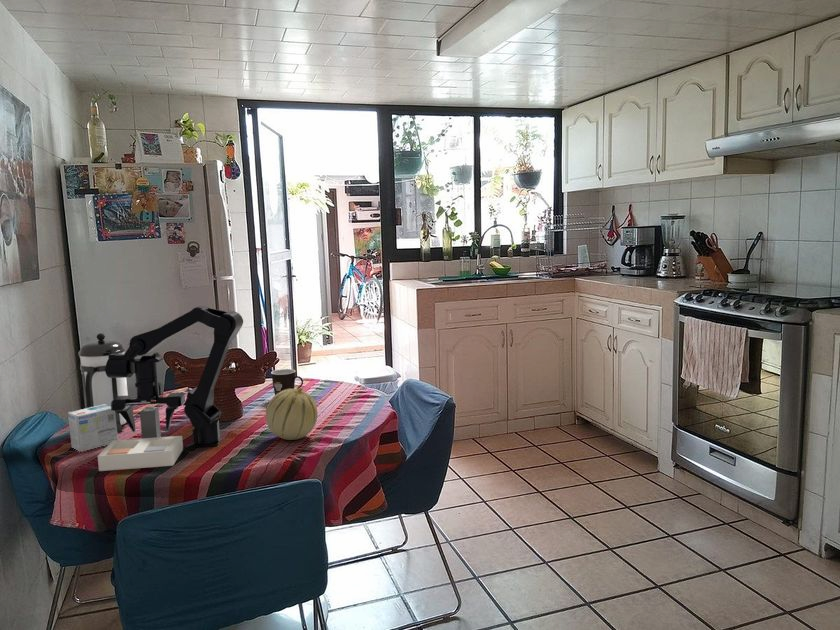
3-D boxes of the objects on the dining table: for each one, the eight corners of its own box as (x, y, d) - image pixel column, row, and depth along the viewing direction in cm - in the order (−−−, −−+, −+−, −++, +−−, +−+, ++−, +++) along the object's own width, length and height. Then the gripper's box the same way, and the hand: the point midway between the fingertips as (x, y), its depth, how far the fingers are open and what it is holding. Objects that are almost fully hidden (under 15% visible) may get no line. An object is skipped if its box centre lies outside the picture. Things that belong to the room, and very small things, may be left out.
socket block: (183, 449, 171) (182, 434, 170) (173, 465, 159) (171, 449, 158) (114, 454, 168) (113, 439, 167) (98, 471, 156) (97, 454, 156)
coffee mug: (268, 399, 221) (266, 371, 220) (288, 394, 227) (287, 368, 226) (284, 405, 213) (283, 377, 211) (305, 400, 218) (304, 373, 217)
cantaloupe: (264, 434, 183) (261, 385, 181) (313, 427, 188) (311, 379, 186) (270, 450, 169) (268, 397, 167) (323, 442, 174) (321, 391, 172)
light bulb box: (108, 438, 182) (105, 403, 180) (119, 442, 177) (116, 406, 176) (70, 448, 173) (66, 411, 172) (80, 453, 169) (76, 415, 168)
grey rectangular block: (161, 440, 178) (158, 405, 177) (157, 445, 174) (154, 409, 173) (146, 441, 178) (143, 406, 176) (142, 446, 174) (139, 410, 172)
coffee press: (71, 429, 190) (61, 334, 186) (124, 417, 202) (116, 327, 197) (91, 442, 178) (81, 340, 174) (146, 428, 190) (138, 333, 186)
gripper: (187, 369, 183) (190, 419, 185) (120, 372, 180) (125, 423, 182) (178, 377, 172) (182, 431, 174) (107, 381, 169) (112, 436, 171)
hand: (151, 430), depth 175 cm, fingers open, 9 cm apart
